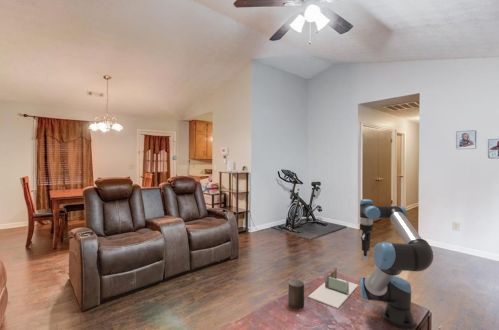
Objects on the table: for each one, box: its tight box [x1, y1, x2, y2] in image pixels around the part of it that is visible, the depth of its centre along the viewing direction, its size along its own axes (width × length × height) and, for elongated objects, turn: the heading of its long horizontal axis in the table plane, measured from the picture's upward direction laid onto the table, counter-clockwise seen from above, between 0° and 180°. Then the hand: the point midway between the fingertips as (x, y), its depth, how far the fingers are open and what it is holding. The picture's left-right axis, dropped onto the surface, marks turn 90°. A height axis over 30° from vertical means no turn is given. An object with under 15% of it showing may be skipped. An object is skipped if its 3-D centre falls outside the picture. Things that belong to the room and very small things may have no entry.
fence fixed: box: [324, 267, 338, 288], centre depth 186 cm, size 17×2×8 cm, turn 139°
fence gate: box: [329, 277, 350, 294], centre depth 175 cm, size 14×2×8 cm, turn 50°
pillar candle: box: [287, 278, 305, 309], centre depth 160 cm, size 10×10×15 cm
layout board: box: [307, 278, 359, 310], centre depth 176 cm, size 38×20×1 cm, turn 139°
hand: (365, 260), depth 163 cm, fingers closed
